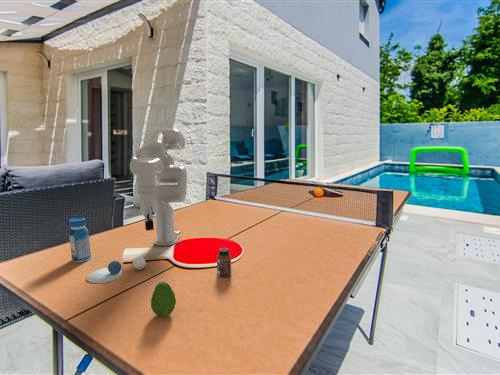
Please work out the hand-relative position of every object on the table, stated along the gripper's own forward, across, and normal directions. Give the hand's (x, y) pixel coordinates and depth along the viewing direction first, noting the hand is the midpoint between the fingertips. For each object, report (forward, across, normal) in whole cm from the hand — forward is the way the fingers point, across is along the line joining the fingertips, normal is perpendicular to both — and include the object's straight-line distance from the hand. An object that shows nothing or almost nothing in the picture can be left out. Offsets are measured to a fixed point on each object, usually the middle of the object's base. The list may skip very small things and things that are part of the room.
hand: (149, 229), depth 142 cm
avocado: (+17, +41, -4) cm, 45 cm away
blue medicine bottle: (+17, -24, -28) cm, 41 cm away
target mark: (+17, 0, -20) cm, 26 cm away
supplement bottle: (+17, +24, +25) cm, 39 cm away
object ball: (+14, 0, -16) cm, 21 cm away
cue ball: (+14, +1, -6) cm, 16 cm away
